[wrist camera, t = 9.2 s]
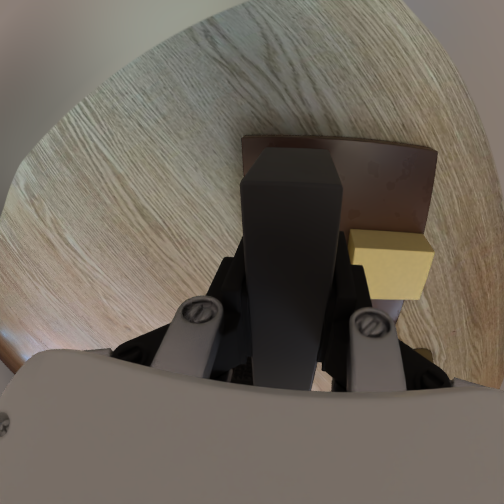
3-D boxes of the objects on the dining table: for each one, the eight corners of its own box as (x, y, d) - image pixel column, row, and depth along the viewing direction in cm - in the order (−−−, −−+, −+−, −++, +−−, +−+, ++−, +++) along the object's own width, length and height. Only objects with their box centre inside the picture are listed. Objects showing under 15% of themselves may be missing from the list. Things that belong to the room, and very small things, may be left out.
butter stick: (350, 228, 23) (355, 247, 20) (422, 233, 22) (435, 252, 19) (343, 276, 26) (346, 298, 23) (410, 278, 24) (419, 300, 22)
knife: (264, 146, 9) (238, 181, 6) (329, 149, 9) (343, 185, 6) (267, 421, 20) (259, 464, 16) (295, 423, 19) (289, 467, 16)
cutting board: (244, 134, 22) (240, 137, 21) (431, 147, 19) (438, 151, 18) (255, 316, 32) (253, 325, 31) (390, 322, 30) (392, 331, 28)
